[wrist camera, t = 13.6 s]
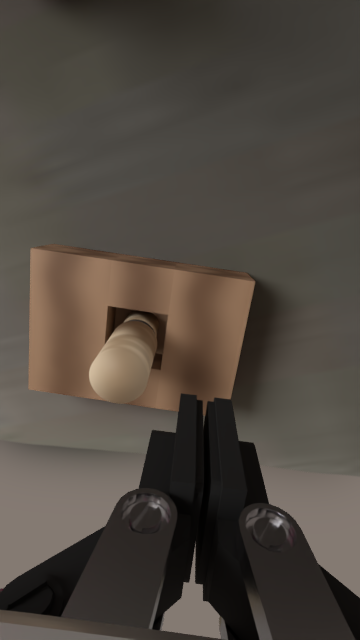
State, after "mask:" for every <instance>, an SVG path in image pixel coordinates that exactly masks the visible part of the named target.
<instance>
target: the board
mask: <svg viewBox="0 0 360 640" xmlns="http://www.w3.org/2000/svg"><path fill="white" fill-rule="evenodd" d="M254 285H255V281H254V280H253V279H252V278H251V277H250V276H249V275H248V274H247V273H244V272H237V271H231V270H224V269H217V268H211V267H204V266H197V265H191V264H184V263H177V262H171V261H164V260H157V259H150V258H144V257H137V256H130V255H124V254H117V253H110V252H104V251H97V250H90V249H83V248H77V247H70V246H63V245H57V244H50V245H45V246H39V247H34V248H31V261H30V327H29V389H30V390H37V391H43V392H50V393H57V394H63V395H70V396H77V397H84V398H90V399H97V400H104V401H107V400H105V399H103V398H101V397H100V396H99V395H98V394H97V393H96V392H95V391H94V389H93V388H92V386H91V383H90V379H89V371H90V367H91V365H92V363H93V361H94V360H95V358H96V357H97V355H98V354H99V352H100V351H101V350H102V348H103V347H104V345H105V344H106V342H107V341H108V339H109V338H110V336H111V335H112V333H113V332H114V330H115V329H116V328H117V327H118V326H119V325H120V324H122V323H124V321H125V320H126V318H127V317H128V315H129V314H130V313H131V312H133V311H135V310H139V311H146V312H151V313H153V314H154V315H155V316H156V318H157V320H158V322H159V330H158V334H157V337H156V338H157V349H156V352H155V356H154V360H153V363H152V367H151V371H150V375H149V378H148V382H147V386H146V388H145V390H144V392H143V393H142V394H141V395H140V396H139V397H138V398H137V399H135V400H134V401H131V402H128V403H124V404H131V405H138V406H144V407H151V408H158V409H165V410H171V411H178V412H179V403H180V395H181V393H183V394H191V395H197V400H203V415H205V414H206V407H207V402H208V401H212V402H213V401H214V398H223V399H231V395H232V390H233V385H234V381H235V376H236V371H237V366H238V362H239V357H240V352H241V347H242V343H243V338H244V333H245V328H246V324H247V319H248V314H249V309H250V304H251V300H252V295H253V290H254Z"/></svg>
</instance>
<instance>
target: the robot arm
mask: <svg viewBox="0 0 360 640" xmlns="http://www.w3.org/2000/svg"><path fill="white" fill-rule="evenodd" d="M195 542H196V563H195V566H196V567H195V570H196V571H195V582H196V584H203V601H208V602H209V603H210V604H211V605H212V606H213V608H214V609H215V610H216V611H217V612H218V613H219V615H220V617H219V630H220V635H221V639H217V638H210V637H202V636H196V635H188V634H181V633H174V632H167V631H161V630H162V626H163V621H164V614H165V611H167V609H169V608H170V607H171V606H172V605H173V604H174V603H176V602H177V601H178V600H179V599H180V598H181V596H182V589H183V582H189V580H190V574H191V567H192V561H193V554H194V548H195ZM0 640H360V598H359V597H358V596H356V595H355V594H354V593H353V592H351V591H350V590H349V589H348V588H347V587H346V586H344V585H343V584H342V583H341V582H339V581H338V580H337V579H336V578H335V577H333V576H332V575H331V574H330V573H329V572H327V571H326V570H325V569H324V568H322V567H321V566H320V565H319V564H318V563H317V561H316V559H315V557H314V554H313V552H312V550H311V548H310V546H309V544H308V542H307V540H306V538H305V536H304V534H303V532H302V530H301V528H300V527H299V525H298V524H297V522H296V521H295V520H294V519H293V518H292V517H291V516H290V515H289V514H288V513H287V512H285V511H283V510H282V509H280V508H278V507H276V506H273V505H270V504H269V502H268V498H267V494H266V489H265V485H264V481H263V477H262V473H261V469H260V465H259V461H258V457H257V453H256V449H255V445H254V443H250V442H243V441H238V435H237V429H236V423H235V418H234V412H233V406H232V401H231V399H223V398H214V401H213V402H212V401H208V402H207V407H206V414H205V421H204V428H203V400H197V395H191V394H183V393H181V395H180V403H179V412H178V420H177V428H176V433H172V432H164V431H156V430H152V433H151V437H150V442H149V446H148V450H147V455H146V460H145V463H144V468H143V472H142V476H141V481H140V485H139V489H136V490H133V491H130V492H128V493H127V494H125V495H124V496H123V497H121V499H120V500H119V501H118V503H117V504H116V506H115V508H114V510H113V512H112V514H111V516H110V518H109V520H108V522H107V524H106V526H105V527H103V528H101V529H100V530H98V531H96V532H94V533H93V534H91V535H89V536H87V537H86V538H84V539H82V540H81V541H79V542H77V543H76V544H74V545H72V546H70V547H69V548H67V549H65V550H63V551H62V552H60V553H58V554H57V555H55V556H53V557H51V558H49V559H48V560H46V561H44V562H43V563H41V564H40V565H37V566H36V567H34V568H32V569H31V570H29V571H27V572H25V573H24V574H22V575H21V576H18V577H17V578H16V579H14V580H13V581H12V582H10V583H9V584H8V585H6V587H5V588H4V589H0Z"/></svg>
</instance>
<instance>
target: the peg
mask: <svg viewBox="0 0 360 640" xmlns="http://www.w3.org/2000/svg"><path fill="white" fill-rule="evenodd" d="M158 330H159V322H158V320H157V318H156V316H155V315H154V314H153V313H151V312H146V311H139V310H135V311H133V312H131V313H130V314H129V315H128V317H127V318H126V320H125V321H124V323H122V324H120V325H119V326H118V327H117V328H116V329H115V330H114V332H113V333H112V335H111V336H110V338H109V339H108V341H107V342H106V344H105V345H104V347H103V348H102V350H101V351H100V352H99V354H98V355H97V357H96V358H95V360H94V361H93V363H92V365H91V367H90V371H89V379H90V383H91V386H92V388H93V389H94V391H95V392H96V393H97V394H98V395H99V396H100V397H101V398H103V399H105V400H107V401H109V402H112V403H128V402H131V401H134V400H135V399H137V398H138V397H139V396H140V395H141V394H142V393H143V392H144V390H145V388H146V386H147V382H148V378H149V375H150V371H151V367H152V363H153V360H154V356H155V352H156V349H157V338H156V337H157V334H158Z"/></svg>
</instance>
